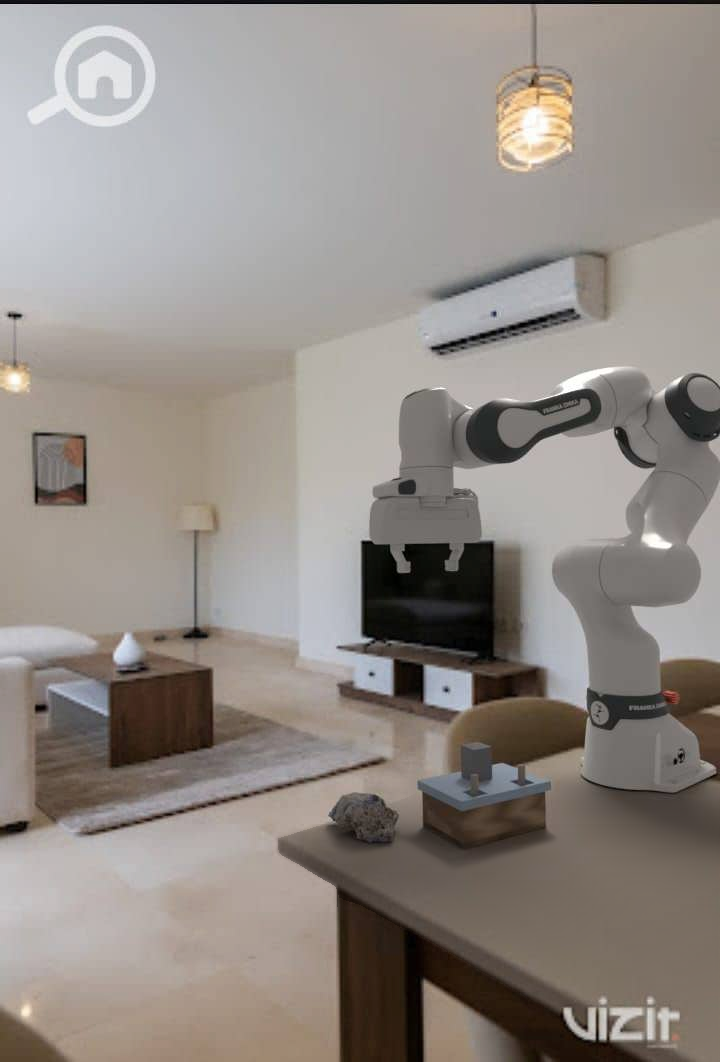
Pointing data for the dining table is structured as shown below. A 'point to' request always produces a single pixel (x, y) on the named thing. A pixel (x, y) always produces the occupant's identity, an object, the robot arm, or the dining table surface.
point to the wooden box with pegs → (485, 817)
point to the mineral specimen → (365, 816)
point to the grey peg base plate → (481, 781)
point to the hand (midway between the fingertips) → (428, 571)
